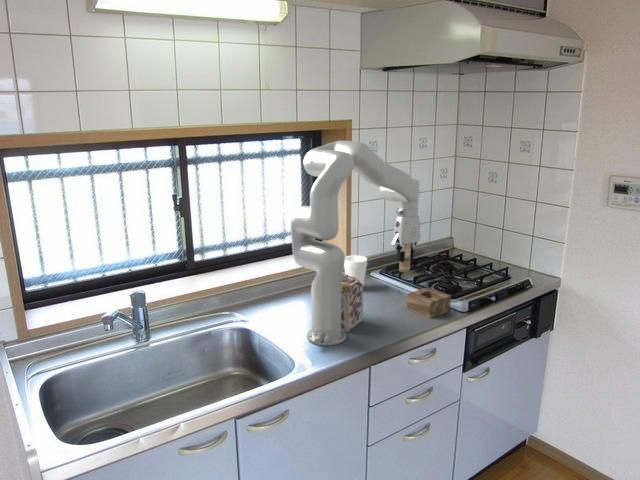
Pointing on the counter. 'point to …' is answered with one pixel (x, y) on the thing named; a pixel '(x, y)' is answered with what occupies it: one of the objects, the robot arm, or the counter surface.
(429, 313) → the socket block
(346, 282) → the decorative jar
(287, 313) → the counter surface
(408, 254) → the beech dowel
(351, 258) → the foam cup
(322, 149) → the robot arm
